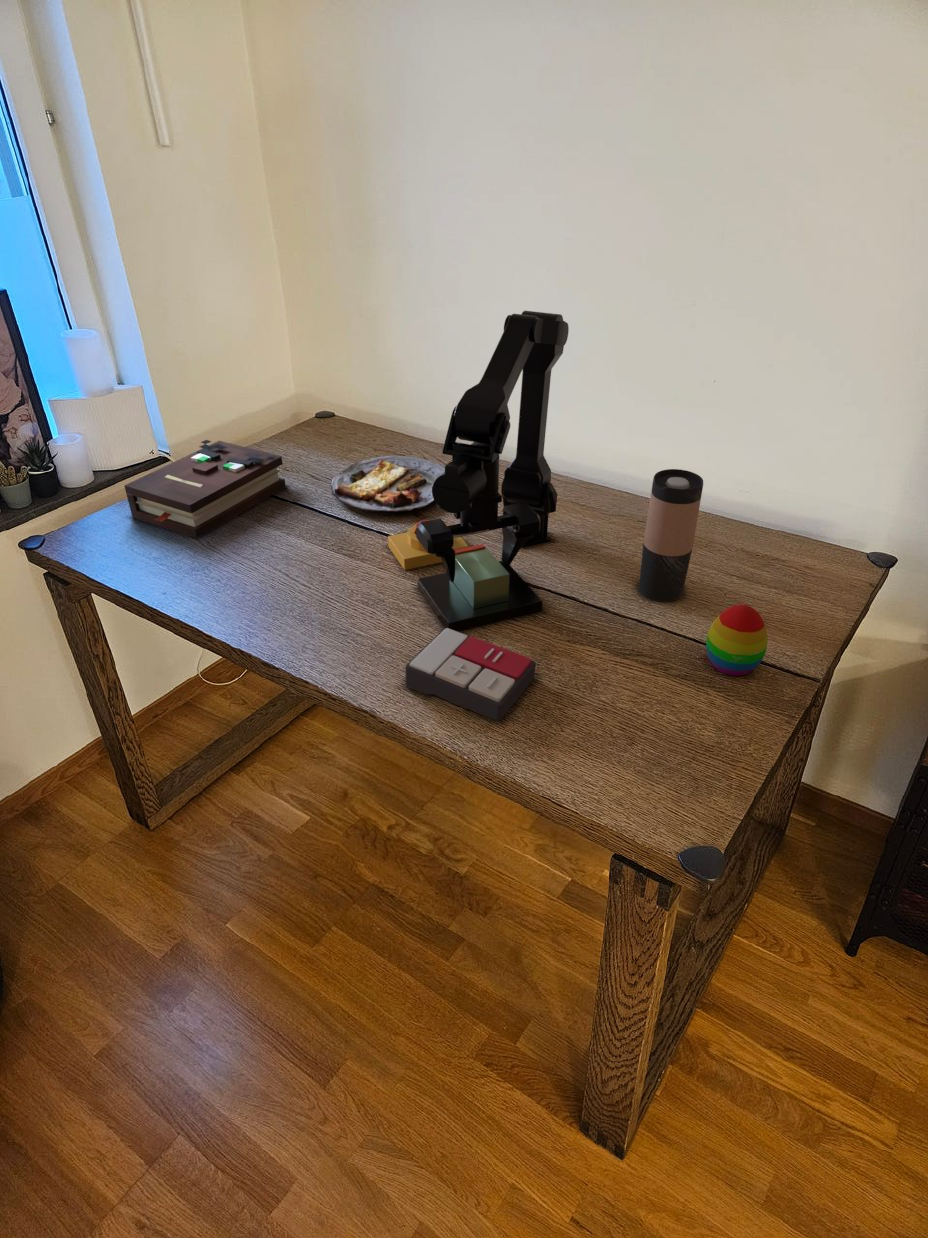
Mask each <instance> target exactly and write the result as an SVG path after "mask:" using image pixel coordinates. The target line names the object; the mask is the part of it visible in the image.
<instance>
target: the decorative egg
mask: <svg viewBox="0 0 928 1238" xmlns="http://www.w3.org/2000/svg"><path fill="white" fill-rule="evenodd" d="M705 643H706V644H705V648H706V654H707V657H708V659H709V662H710V663H711V664H712V666H713V667H714V668H715V669H716V670H717V671H718V672H720V673H722V674H726V675H729V676H734V677H735V676H736V677H737V676H738V677H739V676H744V675H748V674H749V673H751V672H752V671H754V670H755V669H757V667H758V666H759V665H760V664H761V663H762V661H763V659H764V657H765V655H766V653H767V649H768V631H767V627H766V624H765V621H764V619H763V617H762V616H761V614H760V613H759V612H758V611H757V610H756V609H755V608H754V607H752V606H750V605H749V604H741V603H740V604H734V605H732V606H729V607H728V608H727V609H725V610H723V611H722V612H721V613H719V615H718V616H717V617H716V618H715V619H714V620H713V622H712V624H711V626H710V627H709V629H708V633H707V636H706V641H705Z"/></svg>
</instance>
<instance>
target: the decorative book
mask: <svg viewBox="0 0 928 1238" xmlns="http://www.w3.org/2000/svg"><path fill="white" fill-rule="evenodd" d="M210 443H211V444H210ZM200 444H202V445H199V446H198V447H199V448H201V449H198V450H196V451H194V452H192V453H190V454H188V455H186V456H184V457H182V458H180V459H177V460H175V461H172V462H171V463H169V464H166V465H164V466H162V467H160V468H158V469H156V470H153V471H152V472H150V473H147V474H145V475H143V476H141V477H139V478H137V479H135V480H133V481H130V482H129V483H126V484H124V486H123V487H124V491H125V494H126V498H127V502H128V506H129V509H130V514H131V517H132V518H133V519H136V520H139V521H142V522H145V523H148V524H151V525H155V526H158V527H161V528H164V529H167V530H170V531H173V532H176V533H180V534H183V535H186V536H189V537H192V538H195V539H199V538H200V537H202V536H203V535H205V534H206V533H209V532H210V531H212V530H214V529H215V528H217V527H219V526H221V525H222V524H224V523H226V522H227V521H229V520H231V519H233V518H234V517H236V516H238V515H240V514H241V513H243V512H245V511H247V510H248V509H250V508H252V507H254V506H255V505H257V504H258V503H261V502H262V501H264V500H265V499H267V498H269V497H271V496H273V495H274V494H276V493H278V492H279V491H281V490H283V489H284V488H286V486H287V485H286V479H285V478H281V477H279V472H281V471H283V468H280V466H282V465H283V464H284V463H283V456H281V455H278V454H274V453H270V452H267V451H262V450H259V449H254V448H250V447H247V446H243V445H238V444H234V443H230V442H226V441H222V440H217V441H215V442H213V443H212V440H208V439H205V440H202V441H200ZM208 444H209V445H208Z"/></svg>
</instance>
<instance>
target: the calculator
mask: <svg viewBox="0 0 928 1238" xmlns="http://www.w3.org/2000/svg"><path fill="white" fill-rule="evenodd" d="M536 666H537V662H536V661H534V660H533V659H531V657H527V656H525V655H522V654H520V653H517V652H514V651H513V650H512V651H511V650H510V649H507V648H505V647H504V648H503V647H501V646H499V645H497V644H493V643H491V642H488V641H485V640H483V639H480V638H478V637H476V636H470V635H467V634H465V633H462V632H460V631H458V632H457V631H454V630H452V629H449V628H445V627H444V628H442V629H441V631H440V632H439V633H437V634H436V635H435V636H434V637H433V638H432V639H431V640H430V641H429V642H428V643H427V644H426V645H425V646H424V647H423V648H422V649H421V650H420V651H419V652H418V653H417V654H416V655H415V656H414V657H413V658H412V659H411V660H410V661H408V663H407V664H405V686H406V687H407V688H408V689H412V690H414V691H416V692H419V693H421V694H423V695H426V696H430V695H434V696H436V697H439V698H441V699H443V700H446V701H447V702H451V703H453V704H456V705H458V706H460V707H462V708H465V709H467V710H470V711H472V712H474V713H476V714H478V715H481V716H484V717H486V718H488V719H490V720H493V721H496V722H501V720H502V719H503V718H504V716H505V715H506V714H507V713H508V712H509V711H510V709H511V708H512V707H513V706H514V704H515V703H516V702H517V700H518V699H519V698H520V697H521V696H522V694H523V693H524V692H525V691H526V689H527V688H528V687H529V686H530V684H531V683H532V682H533V680H534V679H535V674H536Z"/></svg>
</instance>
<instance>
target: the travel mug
mask: <svg viewBox="0 0 928 1238" xmlns="http://www.w3.org/2000/svg"><path fill="white" fill-rule="evenodd" d="M703 489H704V478H703V477H702V476H700V475H699V474H697V473H696V472H693V471H690V470H685V469H681V468H680V469H679V468H668V469H662V470H659V471H657V472H656V473H655V474H654V475H653V479H652V484H651V492H650V498H649V504H648V510H647V516H646V525H645V530H644V536H643V545H642V552H641V563H640V570H639V571H640V572H639V580H638V581H639V582H638V590H639V592H640V594H642V595H643V596H644V597H645V598H647V599H649V600H652V601H655V602H661V603H662V602H665V603H666V602H673V601H676V600H678V599H680V598H681V596H682V595H683V592H684V588H685V583H686V580H687V574H688V570H689V566H690V561H691V557H692V552H693V546H694V541H695V536H696V530H697V524H698V518H699V512H700V507H701V502H702V501H701V500H702V495H703Z"/></svg>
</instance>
